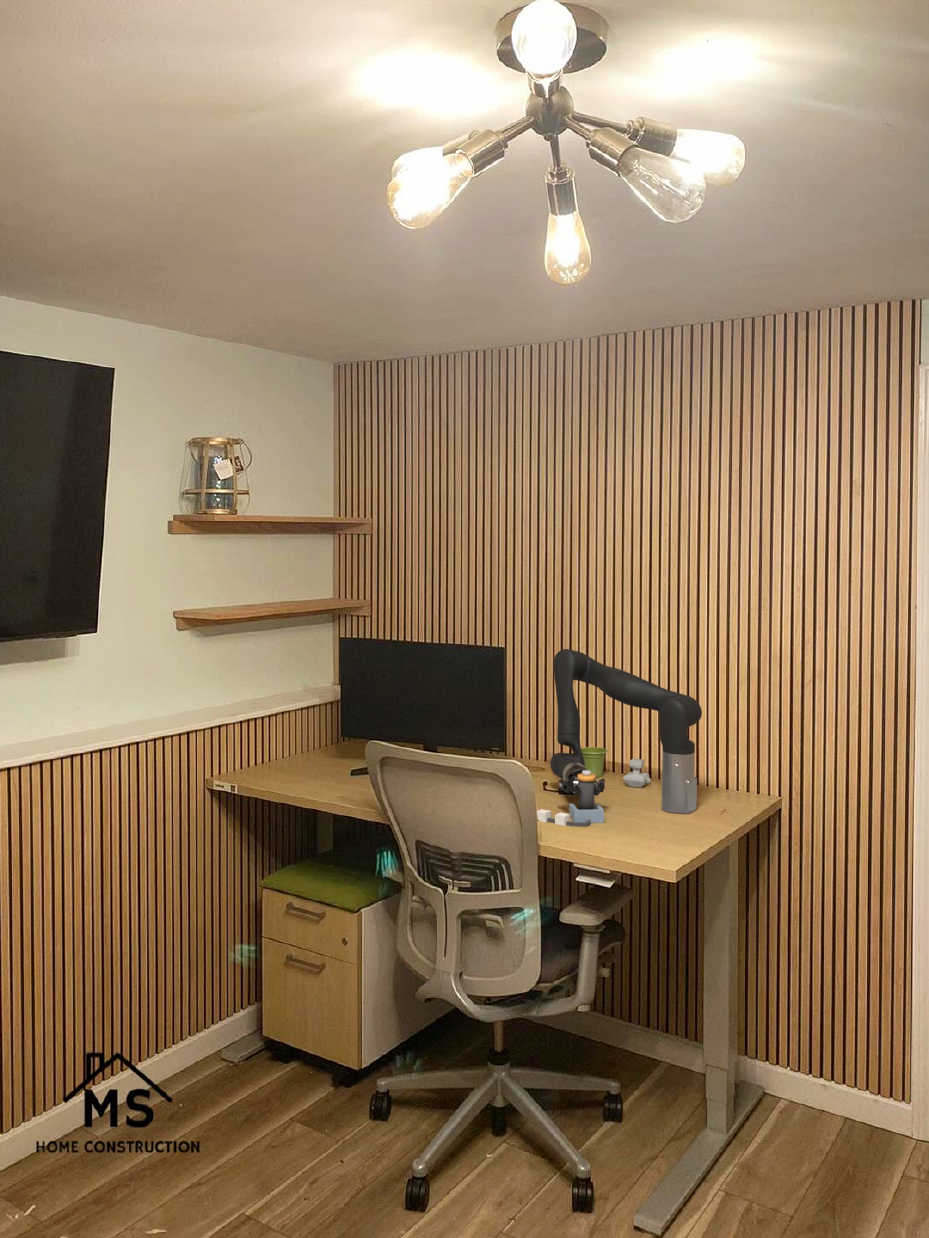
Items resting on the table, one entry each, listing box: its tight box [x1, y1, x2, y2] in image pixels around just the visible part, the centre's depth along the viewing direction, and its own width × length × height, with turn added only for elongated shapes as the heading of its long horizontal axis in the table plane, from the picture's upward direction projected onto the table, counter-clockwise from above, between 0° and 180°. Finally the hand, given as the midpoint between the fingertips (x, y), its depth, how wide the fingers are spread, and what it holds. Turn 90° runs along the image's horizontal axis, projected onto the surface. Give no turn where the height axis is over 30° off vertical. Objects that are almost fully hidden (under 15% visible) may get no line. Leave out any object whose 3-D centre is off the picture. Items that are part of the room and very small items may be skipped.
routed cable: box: [536, 808, 592, 827], centre depth 282 cm, size 15×7×3 cm, turn 54°
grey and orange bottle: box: [577, 770, 597, 810], centre depth 285 cm, size 5×5×12 cm
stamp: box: [622, 758, 651, 788], centre depth 322 cm, size 9×7×8 cm
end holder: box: [568, 802, 605, 824], centre depth 286 cm, size 8×8×4 cm
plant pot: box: [581, 746, 608, 778], centre depth 336 cm, size 9×9×9 cm
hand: (588, 792), depth 282 cm, fingers closed on grey and orange bottle, 4 cm apart
